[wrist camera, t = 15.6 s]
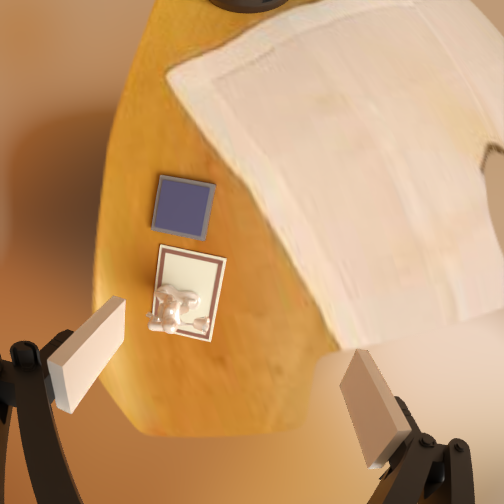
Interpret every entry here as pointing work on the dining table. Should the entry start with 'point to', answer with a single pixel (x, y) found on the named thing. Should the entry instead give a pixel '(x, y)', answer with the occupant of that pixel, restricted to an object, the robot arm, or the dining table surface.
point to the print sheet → (191, 284)
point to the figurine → (175, 310)
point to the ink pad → (183, 207)
